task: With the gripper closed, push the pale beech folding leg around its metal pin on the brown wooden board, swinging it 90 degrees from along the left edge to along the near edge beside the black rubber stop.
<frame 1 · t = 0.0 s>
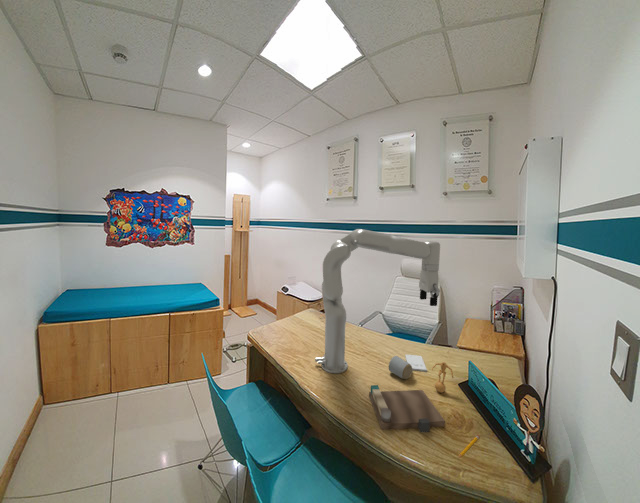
hand: (427, 302, 120), 31 cm above the table, fingers open, 9 cm apart
figurine: (440, 390, 103), on the table
stool leg: (380, 402, 91), point 4 cm above the table, hinge at 0.0°
grey cylinder: (401, 374, 114), on the table
leg stop: (423, 430, 83), on the table
pencil: (468, 448, 77), on the table
brown wooden board: (403, 410, 92), on the table
external hard drive: (415, 365, 123), on the table
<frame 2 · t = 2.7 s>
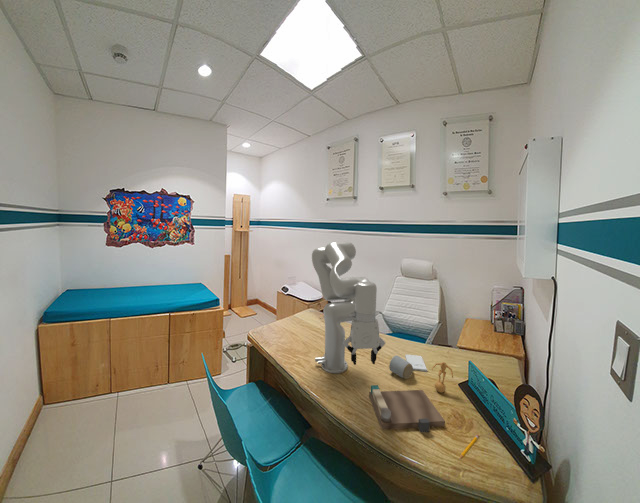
hand: (363, 362, 92), 18 cm above the table, fingers open, 6 cm apart
nothing on the table moved.
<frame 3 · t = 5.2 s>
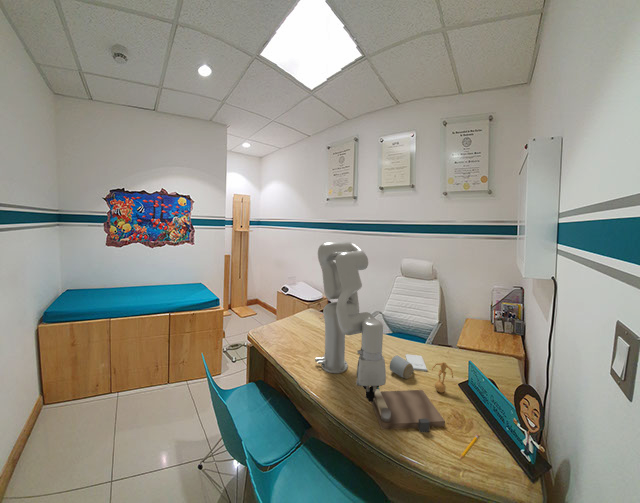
hand: (369, 399, 94), 3 cm above the table, fingers closed
stool leg: (380, 402, 91), point 4 cm above the table, hinge at 0.1°, touching gripper
everything else where it was.
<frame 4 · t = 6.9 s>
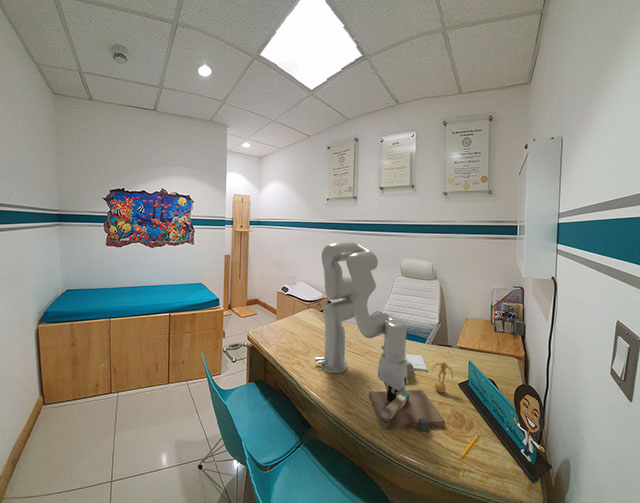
hand: (391, 399, 94), 3 cm above the table, fingers closed
stool leg: (395, 405, 89), point 4 cm above the table, hinge at 50.2°, touching gripper
everything else where it was.
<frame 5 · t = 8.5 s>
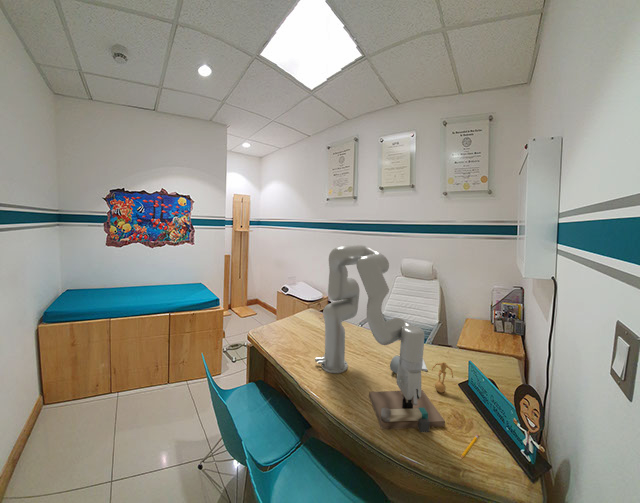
hand: (407, 409, 89), 3 cm above the table, fingers closed
stool leg: (403, 414, 85), point 4 cm above the table, hinge at 91.1°, touching gripper
everything else where it was.
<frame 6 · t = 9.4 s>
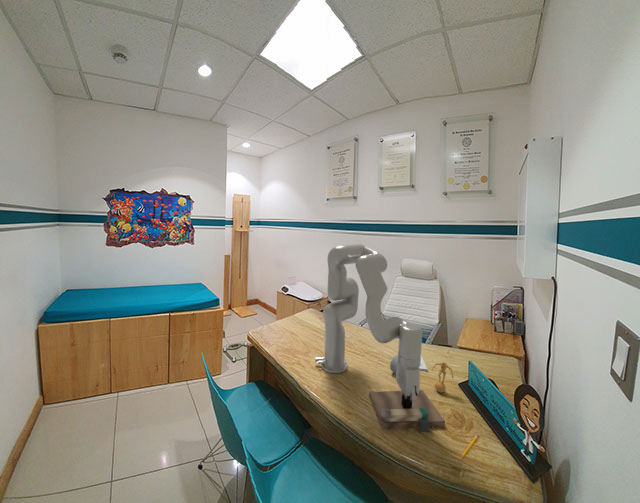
hand: (406, 406, 90), 3 cm above the table, fingers closed
stool leg: (403, 414, 85), point 4 cm above the table, hinge at 91.9°
everything else where it was.
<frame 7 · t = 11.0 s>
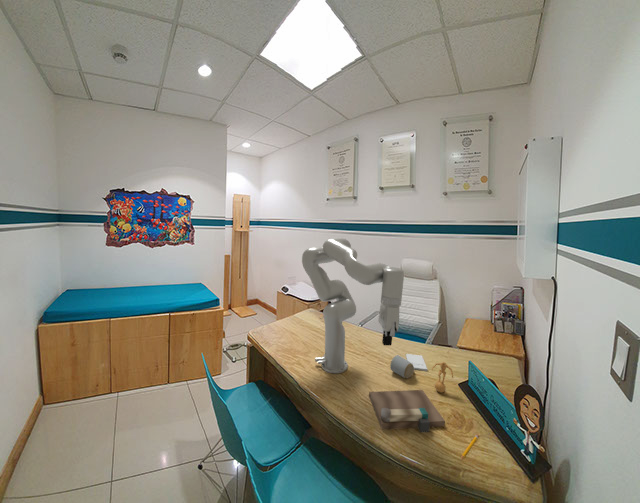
hand: (386, 344, 98), 21 cm above the table, fingers closed
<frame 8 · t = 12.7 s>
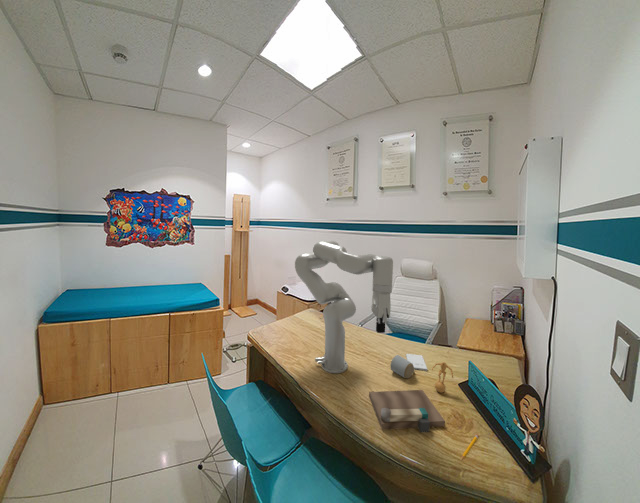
hand: (380, 331, 101), 25 cm above the table, fingers closed
at the end: stool leg at +92° (first picture: +0°); figurine moved 0.2 cm from its start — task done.
